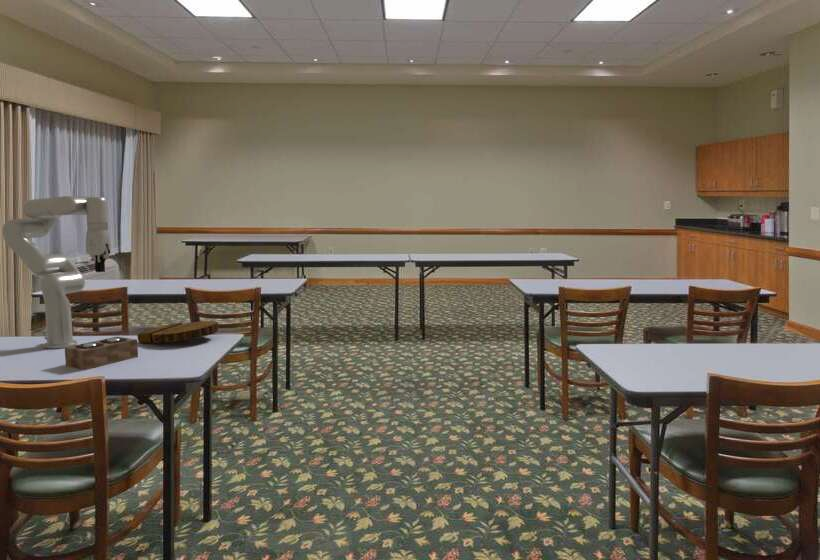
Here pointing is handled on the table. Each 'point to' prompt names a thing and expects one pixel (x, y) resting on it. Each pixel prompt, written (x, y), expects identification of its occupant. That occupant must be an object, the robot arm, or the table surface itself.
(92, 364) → the socket block
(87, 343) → the peg near
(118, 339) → the peg far
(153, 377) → the table surface
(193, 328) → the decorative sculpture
